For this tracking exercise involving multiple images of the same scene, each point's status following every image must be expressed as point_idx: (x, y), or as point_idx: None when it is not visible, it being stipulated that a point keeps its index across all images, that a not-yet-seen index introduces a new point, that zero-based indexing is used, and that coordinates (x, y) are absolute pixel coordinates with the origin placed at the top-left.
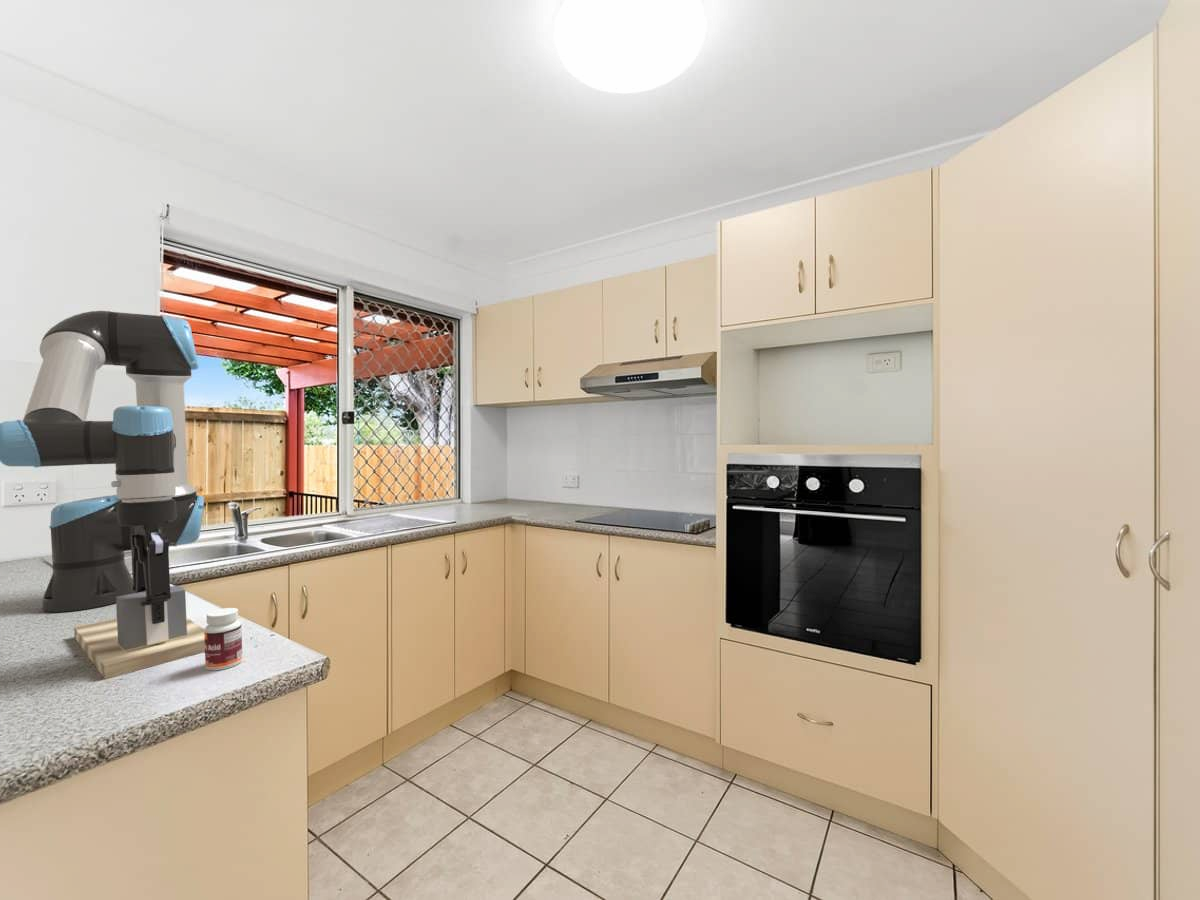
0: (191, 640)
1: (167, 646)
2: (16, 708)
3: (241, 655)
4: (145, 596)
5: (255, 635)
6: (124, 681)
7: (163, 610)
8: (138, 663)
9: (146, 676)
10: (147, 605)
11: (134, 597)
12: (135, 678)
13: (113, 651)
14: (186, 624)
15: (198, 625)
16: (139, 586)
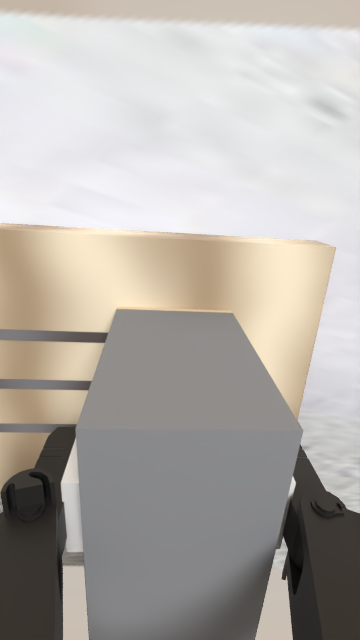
0: (290, 313)
1: (276, 374)
2: (277, 563)
3: None
4: (235, 578)
5: (311, 81)
6: (327, 446)
7: (311, 469)
8: None
9: (345, 414)
10: (279, 540)
11: (204, 608)
12: (332, 430)
13: None
14: (241, 328)
15: (107, 235)
16: (62, 622)
